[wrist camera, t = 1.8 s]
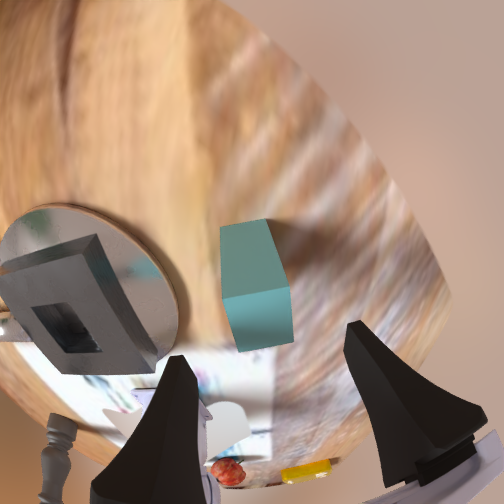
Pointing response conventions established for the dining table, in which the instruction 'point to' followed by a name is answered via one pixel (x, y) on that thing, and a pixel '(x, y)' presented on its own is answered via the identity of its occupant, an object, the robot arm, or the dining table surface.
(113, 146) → the dining table surface
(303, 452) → the dining table surface
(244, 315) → the teal rectangular prism
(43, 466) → the candle holder
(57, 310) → the rosette bracket
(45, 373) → the dining table surface
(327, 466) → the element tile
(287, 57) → the dining table surface
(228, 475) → the pomegranate
